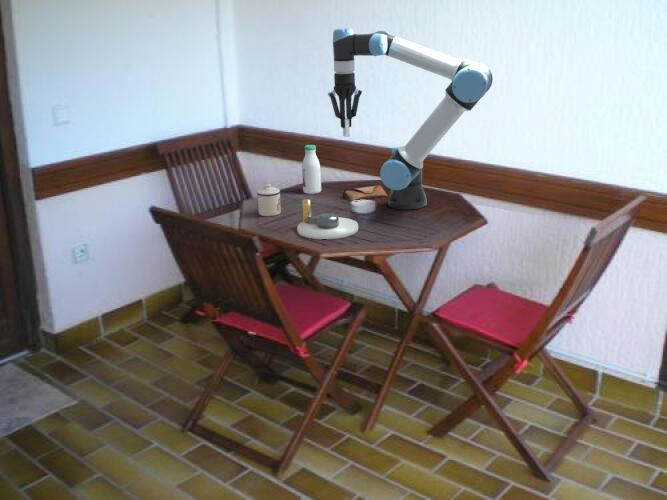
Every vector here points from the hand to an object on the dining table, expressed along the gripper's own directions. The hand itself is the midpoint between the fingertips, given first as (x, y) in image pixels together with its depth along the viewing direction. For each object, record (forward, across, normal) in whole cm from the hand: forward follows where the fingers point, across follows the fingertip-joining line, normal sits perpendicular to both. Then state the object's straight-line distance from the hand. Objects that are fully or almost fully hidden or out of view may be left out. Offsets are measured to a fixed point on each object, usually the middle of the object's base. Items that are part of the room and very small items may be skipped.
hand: (346, 136), depth 293 cm
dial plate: (+29, +16, +19) cm, 38 cm away
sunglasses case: (+30, -14, -16) cm, 37 cm away
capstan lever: (+27, +17, +16) cm, 36 cm away
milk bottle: (+30, +3, -34) cm, 45 cm away
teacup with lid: (+30, +28, -13) cm, 43 cm away
